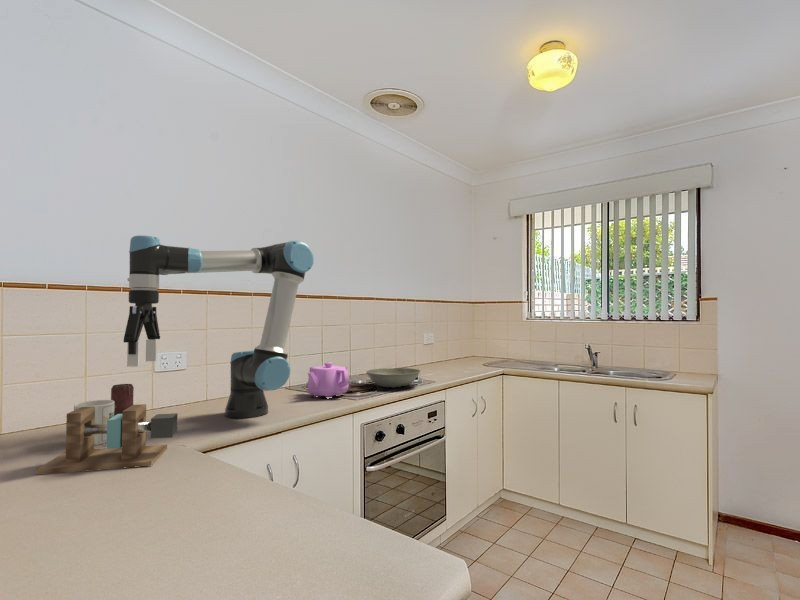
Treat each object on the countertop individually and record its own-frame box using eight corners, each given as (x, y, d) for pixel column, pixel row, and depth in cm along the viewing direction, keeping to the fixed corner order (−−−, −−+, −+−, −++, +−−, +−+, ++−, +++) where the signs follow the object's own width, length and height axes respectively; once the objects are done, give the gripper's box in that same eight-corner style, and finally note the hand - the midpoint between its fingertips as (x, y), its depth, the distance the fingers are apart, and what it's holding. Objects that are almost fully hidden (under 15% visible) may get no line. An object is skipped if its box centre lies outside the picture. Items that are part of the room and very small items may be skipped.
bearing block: (167, 449, 122) (167, 401, 122) (151, 466, 108) (152, 412, 109) (66, 455, 116) (67, 405, 116) (36, 474, 102) (37, 417, 103)
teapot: (307, 401, 188) (308, 365, 188) (305, 393, 206) (305, 360, 206) (352, 399, 193) (353, 364, 193) (346, 391, 211) (347, 359, 211)
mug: (123, 438, 132) (124, 401, 132) (83, 450, 121) (84, 409, 121) (98, 435, 135) (98, 398, 136) (56, 446, 124) (57, 406, 124)
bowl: (425, 383, 235) (425, 368, 235) (412, 392, 208) (412, 375, 208) (377, 381, 242) (377, 366, 243) (358, 390, 216) (358, 372, 216)
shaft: (177, 432, 118) (177, 413, 118) (172, 437, 113) (172, 417, 114) (87, 437, 113) (87, 417, 114) (78, 442, 109) (78, 422, 109)
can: (122, 431, 140) (123, 386, 140) (105, 430, 141) (106, 385, 141) (137, 426, 146) (138, 383, 146) (121, 425, 147) (122, 383, 147)
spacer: (130, 440, 117) (130, 413, 117) (120, 448, 110) (120, 419, 110) (117, 440, 116) (117, 413, 116) (106, 448, 109) (107, 420, 109)
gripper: (145, 291, 140) (144, 359, 139) (110, 287, 115) (108, 369, 115) (171, 292, 141) (170, 359, 141) (141, 287, 117) (140, 368, 116)
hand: (142, 363), depth 128 cm, fingers open, 13 cm apart
